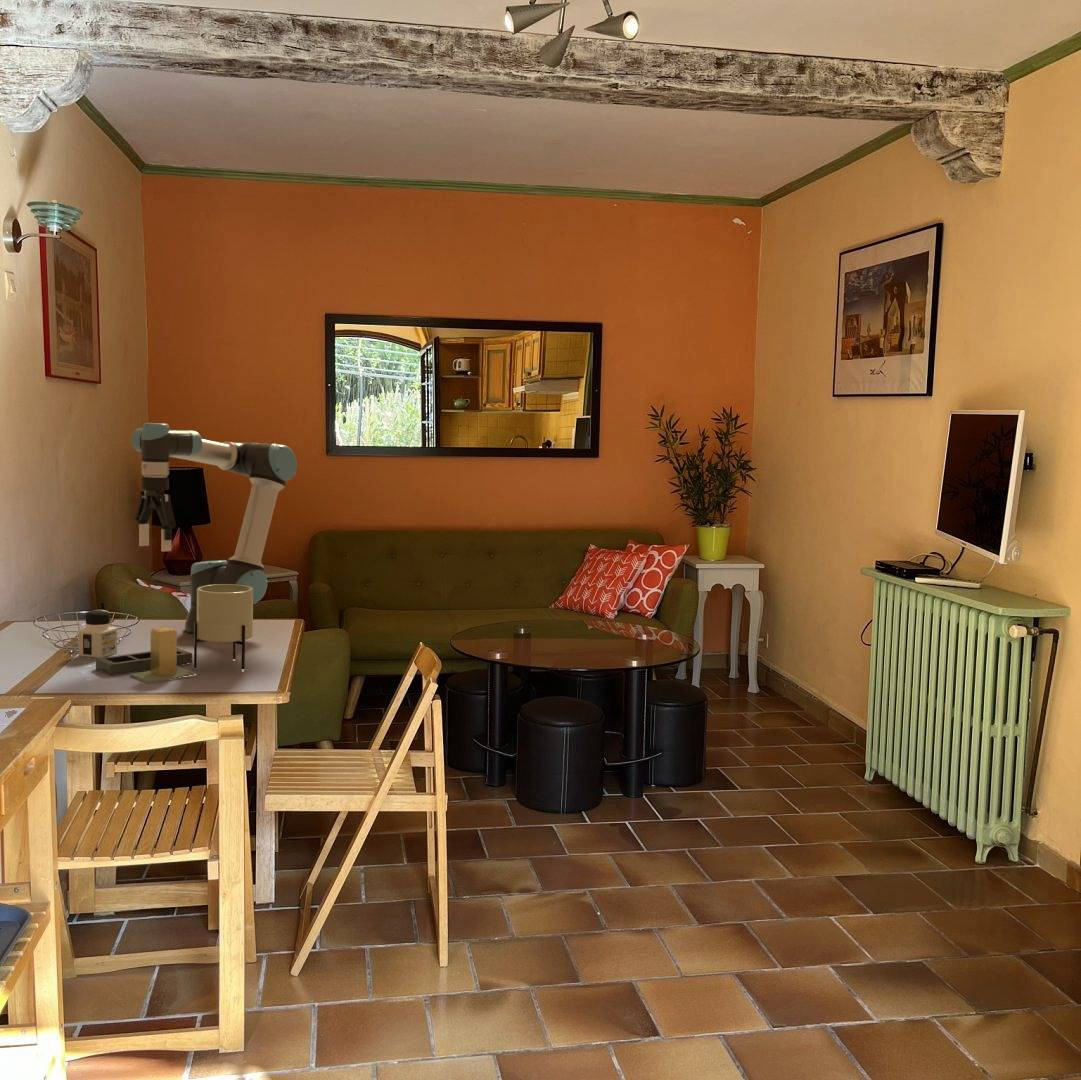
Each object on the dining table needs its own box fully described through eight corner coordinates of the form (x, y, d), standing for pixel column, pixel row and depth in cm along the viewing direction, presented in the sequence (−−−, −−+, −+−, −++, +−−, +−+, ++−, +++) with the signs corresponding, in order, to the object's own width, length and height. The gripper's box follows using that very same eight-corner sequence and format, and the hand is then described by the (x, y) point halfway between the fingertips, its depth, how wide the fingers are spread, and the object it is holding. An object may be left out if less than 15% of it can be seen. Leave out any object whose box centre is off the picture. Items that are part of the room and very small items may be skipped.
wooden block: (167, 670, 293) (167, 626, 291) (176, 674, 290) (176, 629, 288) (150, 673, 289) (150, 628, 288) (159, 676, 286) (159, 631, 284)
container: (101, 658, 306) (101, 614, 304) (78, 656, 307) (77, 612, 306) (117, 652, 313) (117, 609, 312) (94, 650, 315) (94, 607, 313)
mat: (178, 668, 298) (178, 666, 298) (196, 675, 291) (196, 673, 291) (130, 675, 288) (130, 673, 288) (147, 683, 281) (147, 681, 281)
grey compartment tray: (176, 657, 311) (176, 647, 310) (191, 663, 305) (191, 653, 304) (95, 669, 293) (95, 658, 293) (110, 675, 287) (110, 664, 287)
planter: (259, 662, 309) (261, 585, 307) (241, 675, 294) (242, 594, 291) (209, 659, 310) (209, 582, 308) (187, 672, 294) (188, 591, 292)
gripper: (123, 473, 313) (123, 544, 316) (163, 479, 296) (163, 554, 299) (147, 473, 319) (147, 542, 321) (188, 479, 302) (188, 552, 304)
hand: (155, 548), depth 310 cm, fingers open, 13 cm apart
